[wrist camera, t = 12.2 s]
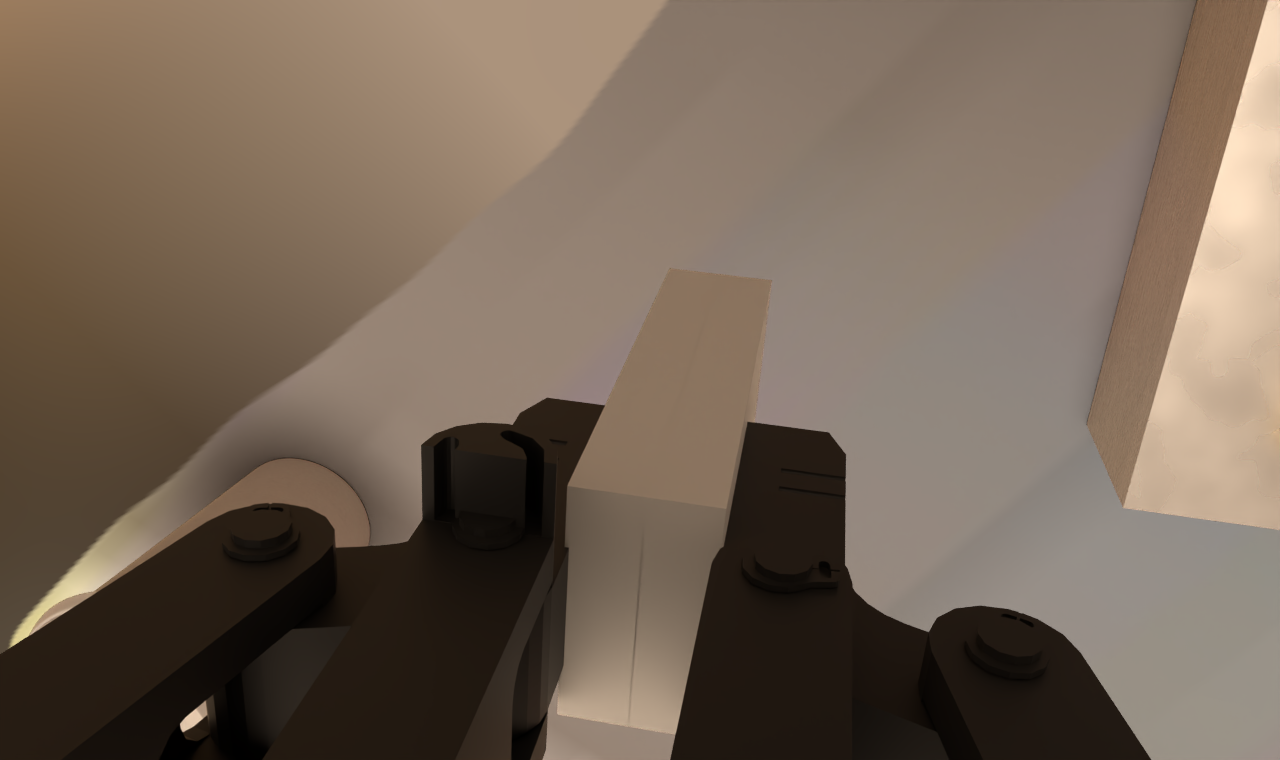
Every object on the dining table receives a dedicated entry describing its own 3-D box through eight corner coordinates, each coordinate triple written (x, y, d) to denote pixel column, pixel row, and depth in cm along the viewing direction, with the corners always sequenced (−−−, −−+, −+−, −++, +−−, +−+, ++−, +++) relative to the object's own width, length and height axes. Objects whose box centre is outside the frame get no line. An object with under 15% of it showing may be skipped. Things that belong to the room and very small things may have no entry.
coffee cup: (293, 633, 55) (112, 877, 41) (168, 481, 53) (-68, 688, 39) (442, 558, 52) (297, 797, 38) (315, 392, 49) (113, 584, 36)
